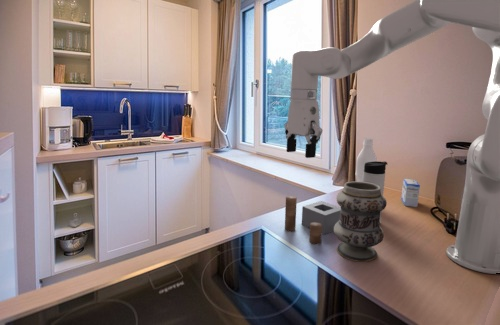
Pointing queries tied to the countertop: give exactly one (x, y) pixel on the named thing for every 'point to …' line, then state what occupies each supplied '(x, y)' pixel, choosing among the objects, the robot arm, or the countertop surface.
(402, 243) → the countertop surface
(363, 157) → the water bottle
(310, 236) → the short pin
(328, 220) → the socket block
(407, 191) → the medicine box
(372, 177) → the travel mug
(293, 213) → the long pin
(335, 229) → the apothecary jar
